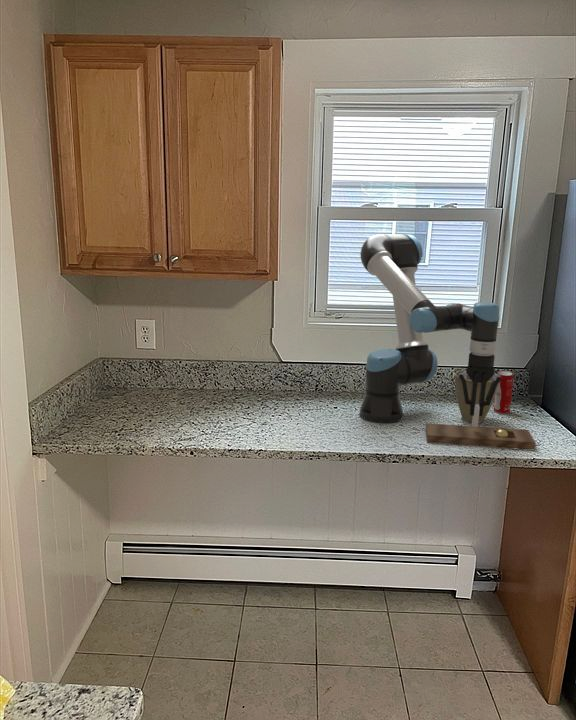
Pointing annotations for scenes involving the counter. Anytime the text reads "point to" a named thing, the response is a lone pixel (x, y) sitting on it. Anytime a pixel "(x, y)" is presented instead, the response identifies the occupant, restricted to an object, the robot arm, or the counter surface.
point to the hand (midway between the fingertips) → (474, 425)
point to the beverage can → (504, 393)
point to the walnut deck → (478, 436)
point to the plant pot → (461, 401)
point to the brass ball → (501, 433)
